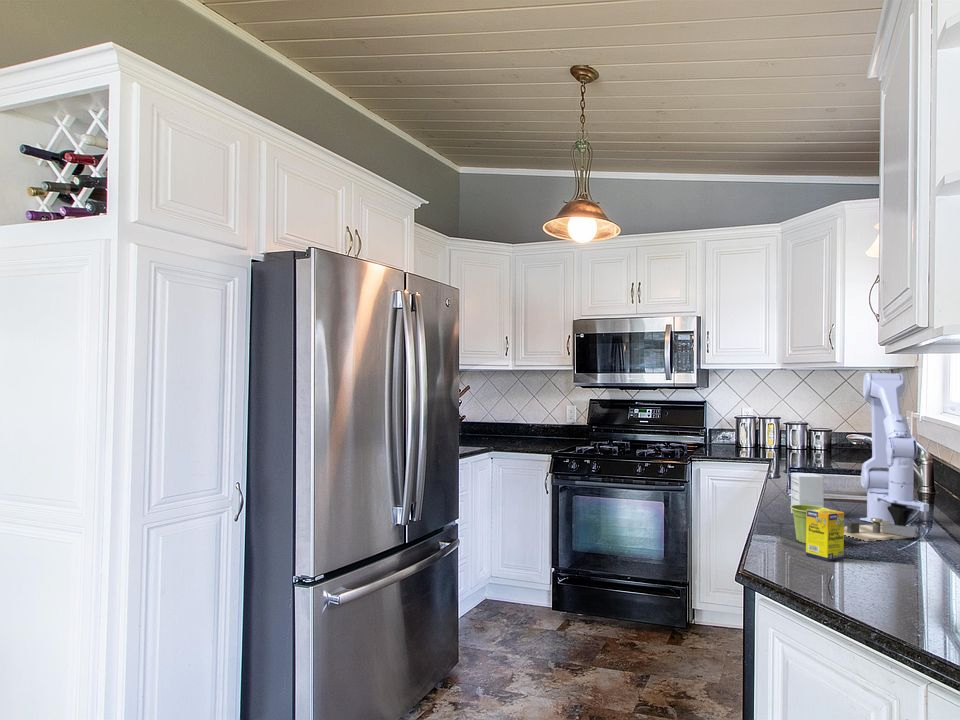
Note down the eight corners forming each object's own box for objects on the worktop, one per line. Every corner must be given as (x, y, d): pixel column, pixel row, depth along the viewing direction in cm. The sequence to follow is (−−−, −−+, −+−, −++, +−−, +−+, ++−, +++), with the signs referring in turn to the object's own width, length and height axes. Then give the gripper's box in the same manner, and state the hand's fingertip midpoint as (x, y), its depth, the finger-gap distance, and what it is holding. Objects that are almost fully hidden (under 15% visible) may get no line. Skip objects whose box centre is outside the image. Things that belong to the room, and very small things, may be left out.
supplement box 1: (814, 513, 218) (815, 473, 218) (824, 518, 210) (824, 476, 210) (790, 512, 218) (790, 472, 219) (798, 517, 211) (798, 475, 211)
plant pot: (835, 542, 180) (835, 508, 180) (823, 548, 173) (823, 513, 173) (797, 536, 186) (797, 503, 186) (784, 541, 179) (784, 507, 179)
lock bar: (869, 531, 188) (869, 518, 188) (871, 529, 190) (871, 517, 191) (914, 537, 181) (914, 524, 182) (916, 535, 184) (916, 523, 184)
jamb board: (874, 527, 199) (874, 514, 199) (917, 537, 187) (917, 524, 187) (826, 531, 193) (826, 518, 193) (868, 541, 181) (868, 528, 181)
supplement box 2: (827, 561, 160) (828, 513, 160) (805, 555, 165) (805, 509, 166) (844, 559, 163) (845, 511, 163) (821, 553, 168) (822, 507, 168)
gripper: (866, 478, 192) (865, 528, 192) (915, 488, 179) (914, 541, 179) (884, 477, 195) (884, 526, 195) (935, 486, 181) (934, 538, 181)
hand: (900, 533), depth 187 cm, fingers closed, pressing on lock bar
